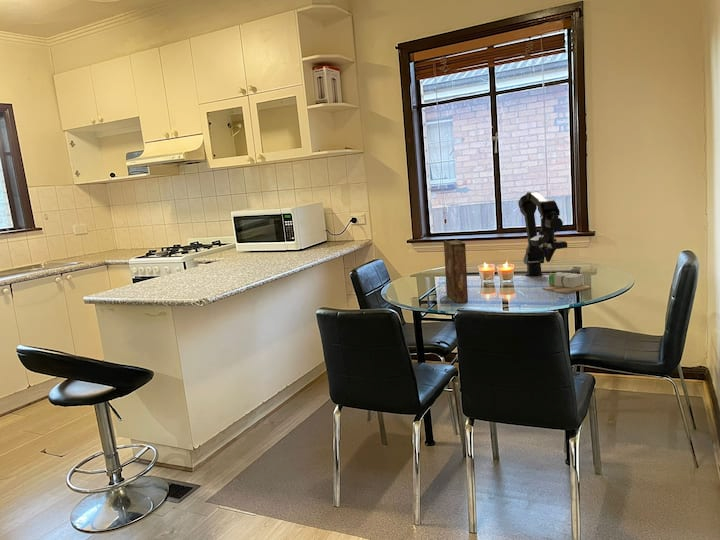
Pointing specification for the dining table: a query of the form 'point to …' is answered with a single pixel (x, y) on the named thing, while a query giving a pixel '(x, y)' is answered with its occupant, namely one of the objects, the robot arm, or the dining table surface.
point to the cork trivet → (566, 289)
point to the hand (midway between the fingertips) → (548, 261)
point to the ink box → (565, 280)
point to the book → (456, 271)
